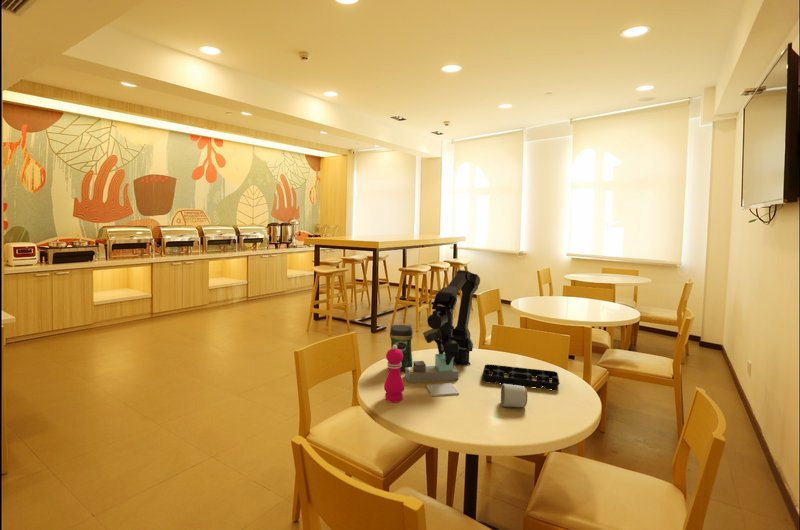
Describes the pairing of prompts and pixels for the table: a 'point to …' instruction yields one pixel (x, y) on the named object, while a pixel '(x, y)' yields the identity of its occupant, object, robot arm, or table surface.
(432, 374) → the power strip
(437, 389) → the mat
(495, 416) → the table surface
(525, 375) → the egg carton
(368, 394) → the table surface
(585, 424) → the table surface
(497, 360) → the table surface
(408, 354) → the coffee jar
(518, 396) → the ceramic mug
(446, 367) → the green block
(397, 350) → the pepper mill
